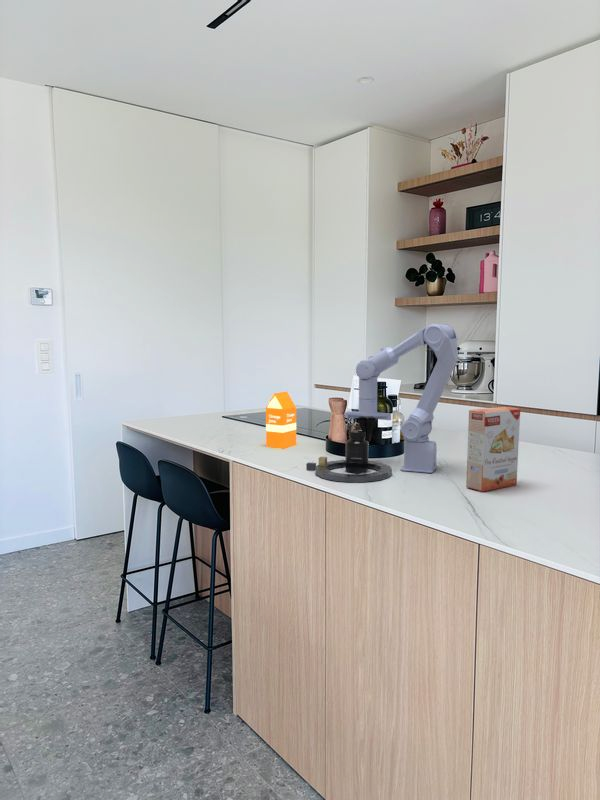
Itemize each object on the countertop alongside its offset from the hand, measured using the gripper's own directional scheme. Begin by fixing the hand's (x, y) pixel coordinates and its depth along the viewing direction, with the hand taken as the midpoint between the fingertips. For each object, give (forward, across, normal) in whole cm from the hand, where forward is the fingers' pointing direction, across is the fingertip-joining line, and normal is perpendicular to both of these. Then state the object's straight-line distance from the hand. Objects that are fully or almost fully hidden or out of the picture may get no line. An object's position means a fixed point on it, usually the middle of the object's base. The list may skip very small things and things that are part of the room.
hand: (367, 441), depth 184 cm
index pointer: (+7, +13, +15) cm, 21 cm away
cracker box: (+7, -39, +16) cm, 43 cm away
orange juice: (+7, +38, -17) cm, 42 cm away
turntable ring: (+7, 0, +15) cm, 17 cm away
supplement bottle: (+7, 0, +12) cm, 14 cm away
